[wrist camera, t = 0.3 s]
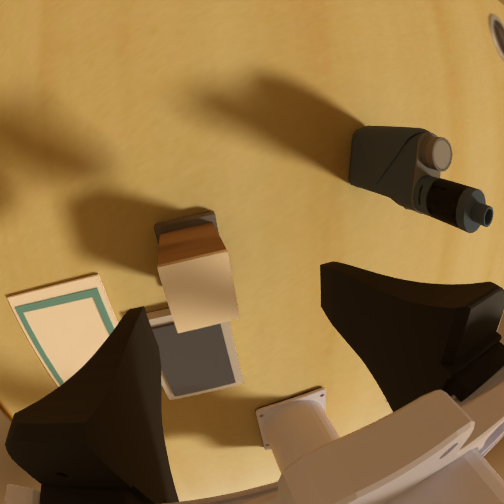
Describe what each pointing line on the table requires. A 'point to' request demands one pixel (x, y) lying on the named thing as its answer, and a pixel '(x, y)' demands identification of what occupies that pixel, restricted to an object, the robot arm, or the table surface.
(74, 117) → the table surface
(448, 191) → the vaping device
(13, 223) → the table surface
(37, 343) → the print sheet
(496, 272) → the table surface
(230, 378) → the ink pad
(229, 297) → the stamp
